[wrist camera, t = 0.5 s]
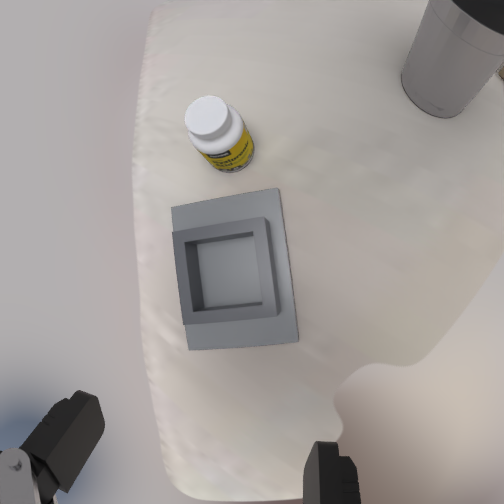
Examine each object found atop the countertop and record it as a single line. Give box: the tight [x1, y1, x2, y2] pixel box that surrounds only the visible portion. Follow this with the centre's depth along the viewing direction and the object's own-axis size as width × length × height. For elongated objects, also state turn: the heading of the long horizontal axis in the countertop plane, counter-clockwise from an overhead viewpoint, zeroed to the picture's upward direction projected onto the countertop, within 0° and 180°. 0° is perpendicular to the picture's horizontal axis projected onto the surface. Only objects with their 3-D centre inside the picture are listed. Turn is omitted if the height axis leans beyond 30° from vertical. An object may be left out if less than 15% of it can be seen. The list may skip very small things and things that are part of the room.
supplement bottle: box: [184, 96, 254, 172], centre depth 30 cm, size 5×5×10 cm
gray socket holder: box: [171, 188, 299, 350], centre depth 32 cm, size 16×12×5 cm
